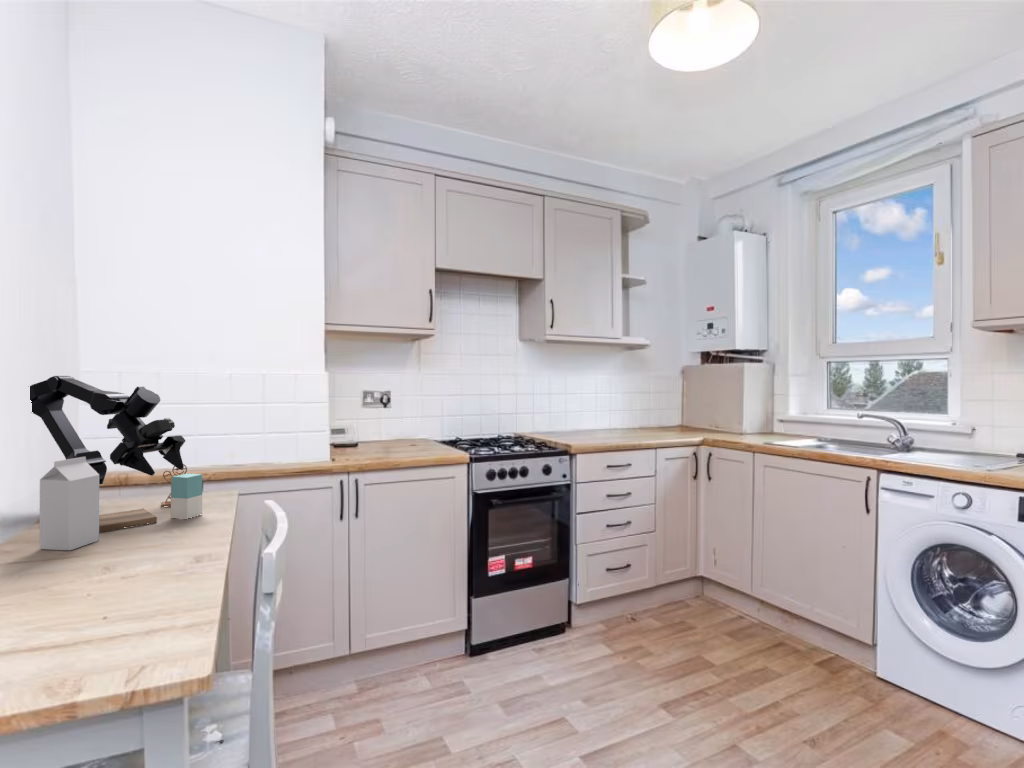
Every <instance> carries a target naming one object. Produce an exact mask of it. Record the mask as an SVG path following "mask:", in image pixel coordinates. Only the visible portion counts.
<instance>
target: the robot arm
mask: <svg viewBox="0 0 1024 768" xmlns="http://www.w3.org/2000/svg"><path fill="white" fill-rule="evenodd" d="M29 386H30V400H31V401H32V402H31V403H32V412H33V413H32V412H31V413H32V414H33V415H35V416H37V417H39V418H41V420H42V422H43V423H44V425H45V426H46V428H47V430H48V431H49V433H50V435H51V437H52V438H53V440H54V442H55V443H56V445H57V447H58V448H59V450H60V451H61V454H63V456H64V458H65V460H67V459H73V458H80V457H86V462H87V463H88V464H89V465H90V466H91V467H92V468H93V469H94V470H95V471H96V472H97V473H98V474H99V485H102V484H104V481H105V477H106V473H107V471H108V468H107V465H106V462H107V460H106V459H104V458H103V456H102V453H101V452H100V451H99V450H89V449H87V447H86V446H85V444H84V442H83V440H82V439H81V438H80V436H79V434H78V433H77V431H76V430H75V428H74V426H73V425H72V423H71V422H70V420H69V419H68V417H67V415H66V414H65V412H64V410H63V406H64V403H65V400H64V399H65V398H66V397H68V396H70V397H72V398H75V399H77V400H79V401H82V402H85V403H86V404H88V405H89V407H90V409H91V410H93V411H94V412H96V413H97V414H98V415H101V416H106V415H107V416H109V415H113V417H112V418H109V419H108V423H107V425H106V429H107V430H113V429H114V430H115V429H116V430H118V432H119V433H120V434H121V435H122V437H123V438H122V439H121V441H120V442H119V443H118V444H117V446H115V448H114V450H113V449H112V452H111V453H110V454H109V459H110V461H111V462H112V464H114V465H120V466H125V467H127V468H130V469H133V470H136V471H139V472H141V473H142V474H143V473H144V474H145V475H148V476H151V477H152V476H154V475H155V470H154V468H153V466H152V465H151V464H150V463H149V462H148V460H147V459H146V457H145V456H144V454H147V453H154V452H158V453H159V455H161V456H162V458H163V459H164V460H165V461H167V462H168V463H170V464H171V465H172V466H173V467H174V466H175V467H174V468H178V469H180V470H181V471H183V470H182V469H183V468H185V466H184V465H183V464H184V463H183V459H182V456H181V455H182V454H181V448H182V446H183V445H184V444H185V442H186V439H185V438H184V437H183V435H180V434H178V435H168V436H166V438H165V439H164V440H163V441H162V442H160V440H162V439H163V438H164V434H166V433H168V432H171V431H173V429H174V428H175V426H176V425H175V422H174V421H173V420H172V419H171V418H170V417H165V418H163V419H156V420H153V421H151V422H148V423H147V424H146V423H145V422H144V421H143V420H142V418H147V417H148V416H149V415H150V414H151V413H152V412H153V411H154V409H155V408H156V407H157V405H159V404H160V402H161V397H160V395H159V394H158V393H155V392H154V391H152V390H149V389H147V388H146V387H145V386H136V387H135V388H134V390H133V392H132V393H131V395H128V394H127V393H123V392H118V391H111V390H104V389H100V388H98V387H95V386H93V385H90V384H88V383H85V382H84V381H81V380H78V379H75V377H73V376H70V375H53V376H50V377H49V378H47V379H46V380H43V381H39V382H38V383H34V384H31V385H29ZM180 470H179V471H180Z"/></svg>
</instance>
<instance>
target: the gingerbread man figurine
mask: <svg viewBox="0 0 1024 768" xmlns="http://www.w3.org/2000/svg"><path fill="white" fill-rule="evenodd" d="M183 466H184V468H183V469H182V470H181V472H177V471H180V469H178V468H177V467H175V466H174V465H173V467H172V472H171V471H170V470H165V471H164V472H163V474H162V477H163V479H164V480H165V481H166V482H167V483H171V480H168V479H167V477H168V476H170V477H172V476H177V475H182V474H186V473H187V471H188V467H187V465H186V464H185V463H183ZM174 471H175V472H174ZM166 473H167V474H166ZM169 499H170V500H169ZM160 504H161V505H160V508H161V507H164V506H171V492H170V493H169V495H168V496H167V498H166V499H165V501H162V502H161V503H160Z"/></svg>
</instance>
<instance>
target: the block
mask: <svg viewBox="0 0 1024 768" xmlns="http://www.w3.org/2000/svg"><path fill="white" fill-rule="evenodd" d="M170 481H171V482H170V493H171V495H170V497H171V499H170V501H171V507H170V519H171V518H181V519H180V520H183V519H188V518H191V517H194V518H196V517H195V516H197V515H200V514H202V515H203V474H202V473H187V472H186V473H185V474H184V473H182V474H180V475H179V474H177V476H174V475H173V476H170ZM200 516H201V515H200ZM197 517H198V516H197ZM191 519H192V518H191ZM188 520H189V519H188Z"/></svg>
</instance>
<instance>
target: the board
mask: <svg viewBox="0 0 1024 768" xmlns="http://www.w3.org/2000/svg"><path fill="white" fill-rule="evenodd" d="M153 522H157V523H158V516H156V515H155V514H153V513H152V512H150V511H148V510H147V509H145V508H139V509H132V510H125V511H120V512H112V513H106V514H99V533H104V531H105V532H110V530H111V531H115V529H117V530H121V529H120V528H123V529H125V528H124V527H128V528H132V527H131V526H134V527H137V526H136V525H140V526H142V525H141V524H146V525H148V524H147V523H152V524H154V523H153Z"/></svg>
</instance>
